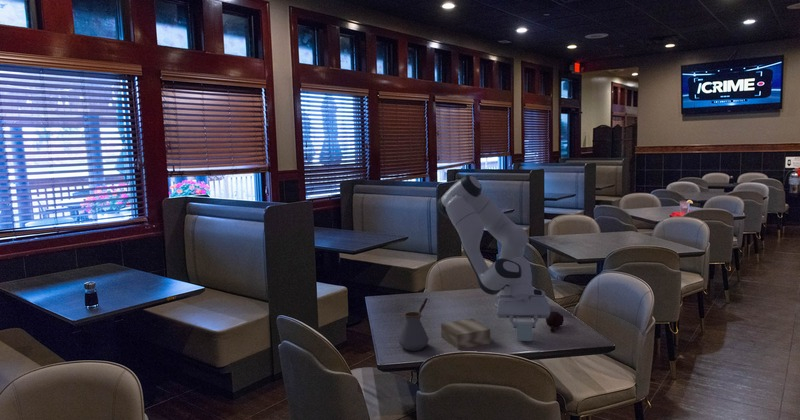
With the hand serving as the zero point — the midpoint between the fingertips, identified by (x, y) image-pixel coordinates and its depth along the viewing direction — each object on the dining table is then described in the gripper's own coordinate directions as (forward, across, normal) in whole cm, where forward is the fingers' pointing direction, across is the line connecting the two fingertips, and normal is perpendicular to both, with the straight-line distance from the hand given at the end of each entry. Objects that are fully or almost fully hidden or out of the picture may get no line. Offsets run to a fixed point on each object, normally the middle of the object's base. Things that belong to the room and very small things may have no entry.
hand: (524, 327), depth 207 cm
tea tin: (+3, 0, +4) cm, 4 cm away
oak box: (+4, -22, +5) cm, 23 cm away
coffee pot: (+6, -40, +2) cm, 41 cm away
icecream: (-8, +13, +17) cm, 23 cm away
